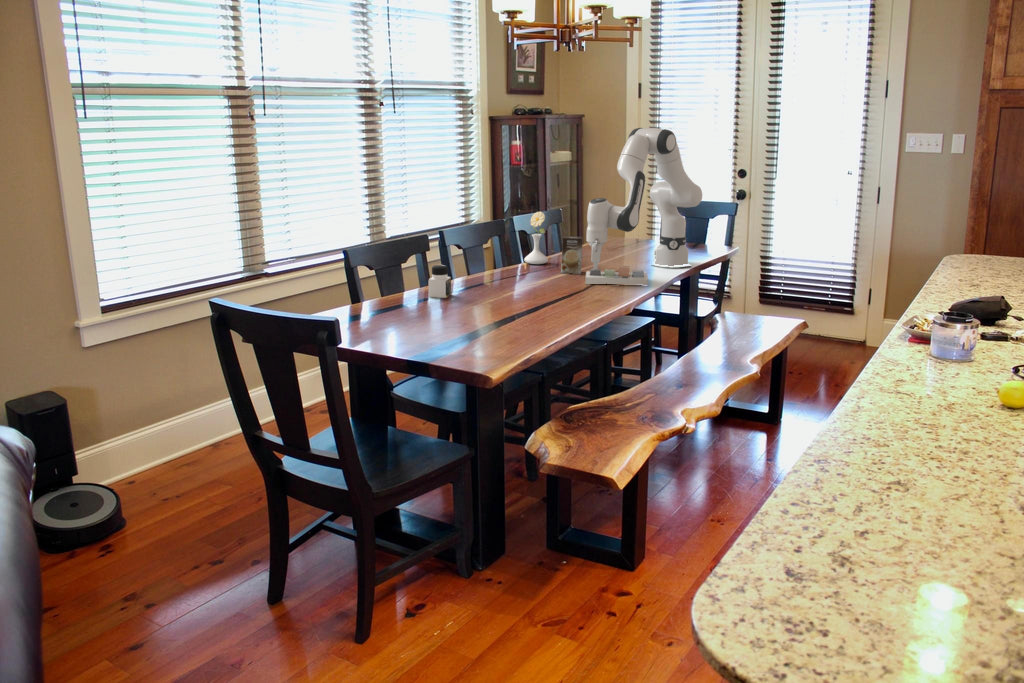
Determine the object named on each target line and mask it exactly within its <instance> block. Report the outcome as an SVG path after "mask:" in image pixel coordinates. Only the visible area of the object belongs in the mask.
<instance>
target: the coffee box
mask: <svg viewBox="0 0 1024 683" xmlns="http://www.w3.org/2000/svg"><path fill="white" fill-rule="evenodd" d="M561 245H562V246H561V261H560V262H561V263H560V264H561V265H560V274H565V273H573V274H572V275H581V274H582V263H583V262H582V261H583V259H582V258H583V236H576V235H575V236H573V235H571V236H570V235H562V244H561Z"/></svg>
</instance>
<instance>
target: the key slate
mask: <svg viewBox="0 0 1024 683" xmlns="http://www.w3.org/2000/svg"><path fill="white" fill-rule="evenodd" d="M632 273H633V277H643V275H644V273H645V272H644V270H641V269H640V270H638V269H637V270H636V269H635V270H632Z"/></svg>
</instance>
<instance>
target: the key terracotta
mask: <svg viewBox="0 0 1024 683" xmlns="http://www.w3.org/2000/svg"><path fill="white" fill-rule="evenodd" d="M618 272H619V274H618V276H628V277H629V273H630V265H619V266H618Z"/></svg>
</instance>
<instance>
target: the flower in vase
mask: <svg viewBox="0 0 1024 683" xmlns="http://www.w3.org/2000/svg"><path fill="white" fill-rule="evenodd" d="M544 221H546V215H545V214H544V212H542V211H536V212H535V213H533V214H532V216H531V217H530V226H532V229H533V230H534V231H535V232H536V233H532V234H531V237H532V238H533V250H532V251H531V252H529V254H527V255H526V256H525V257H524V259H523V260H524V262H525V263H527V264H529V265H530V264H531V265H543V264H546V263H548V262H549V259H548V257H547V256H546V255H545V254H544V253H543V252H541V250H540V239H541V237H542V236H543V234H545V233H546V230H545V228H544V227H542V224H543V223H544ZM537 227H540V228H539V230H538V229H536V228H537Z"/></svg>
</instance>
